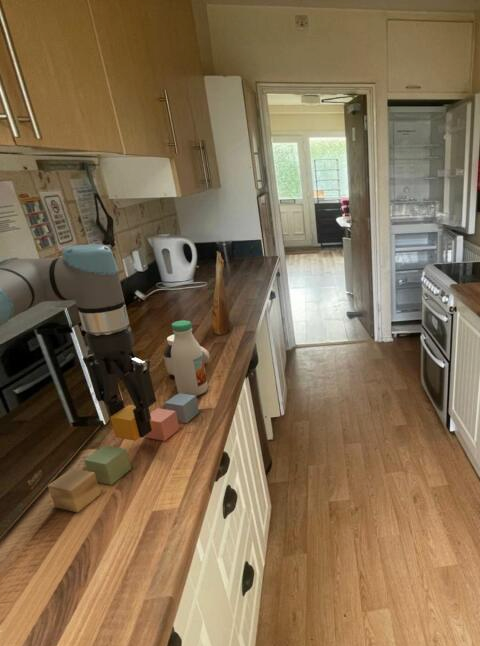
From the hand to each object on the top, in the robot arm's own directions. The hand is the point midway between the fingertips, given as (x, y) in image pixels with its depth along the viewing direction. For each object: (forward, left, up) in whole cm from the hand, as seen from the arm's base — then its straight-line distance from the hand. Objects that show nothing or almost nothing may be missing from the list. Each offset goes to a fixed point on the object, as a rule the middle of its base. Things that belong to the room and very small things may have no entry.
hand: (134, 431), depth 90 cm
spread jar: (-15, +38, -6) cm, 41 cm away
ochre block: (0, 0, 0) cm, 0 cm away
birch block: (0, -15, -5) cm, 16 cm away
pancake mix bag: (-26, +73, -6) cm, 78 cm away
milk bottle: (-6, +27, -6) cm, 28 cm away
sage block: (0, -8, -5) cm, 9 cm away
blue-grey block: (0, +15, -5) cm, 16 cm away
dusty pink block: (0, +7, -5) cm, 9 cm away
